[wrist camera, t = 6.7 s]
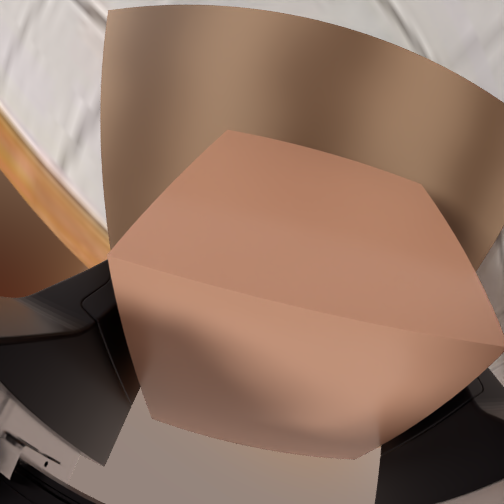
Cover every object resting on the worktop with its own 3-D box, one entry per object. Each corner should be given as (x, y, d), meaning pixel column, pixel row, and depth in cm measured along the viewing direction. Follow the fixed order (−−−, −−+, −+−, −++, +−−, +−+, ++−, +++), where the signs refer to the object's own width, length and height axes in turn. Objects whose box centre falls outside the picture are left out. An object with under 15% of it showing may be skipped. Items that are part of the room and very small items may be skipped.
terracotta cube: (421, 184, 8) (508, 347, 3) (353, 315, 12) (354, 459, 7) (227, 129, 8) (107, 254, 3) (208, 280, 12) (152, 418, 7)
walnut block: (509, 116, 9) (543, 134, 7) (405, 315, 18) (412, 352, 15) (145, 14, 10) (108, 10, 8) (138, 248, 18) (115, 279, 16)
